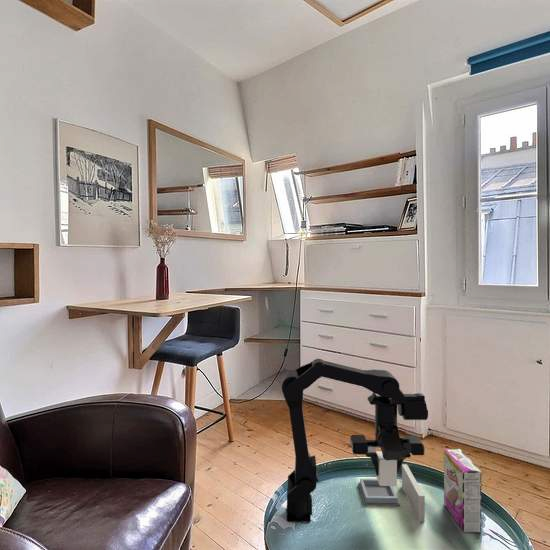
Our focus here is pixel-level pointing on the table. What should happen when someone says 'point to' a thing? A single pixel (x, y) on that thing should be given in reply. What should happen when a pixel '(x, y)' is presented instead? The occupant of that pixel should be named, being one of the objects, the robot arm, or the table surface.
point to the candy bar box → (462, 490)
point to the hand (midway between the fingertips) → (386, 475)
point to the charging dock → (377, 493)
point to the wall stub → (413, 492)
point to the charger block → (386, 471)
